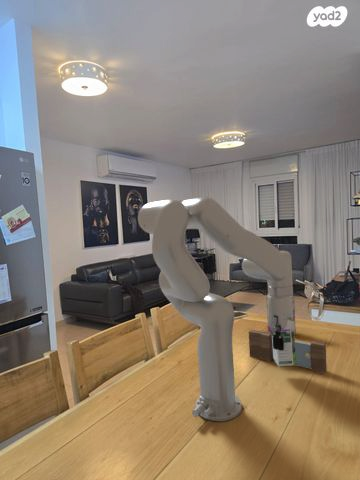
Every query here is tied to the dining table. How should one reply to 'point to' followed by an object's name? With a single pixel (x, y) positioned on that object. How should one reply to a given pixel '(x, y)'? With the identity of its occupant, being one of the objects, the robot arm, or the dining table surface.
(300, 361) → the door
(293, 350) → the syrup box
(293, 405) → the dining table surface
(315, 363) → the door frame
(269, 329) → the candy bar box
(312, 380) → the dining table surface
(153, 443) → the dining table surface
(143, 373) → the dining table surface
